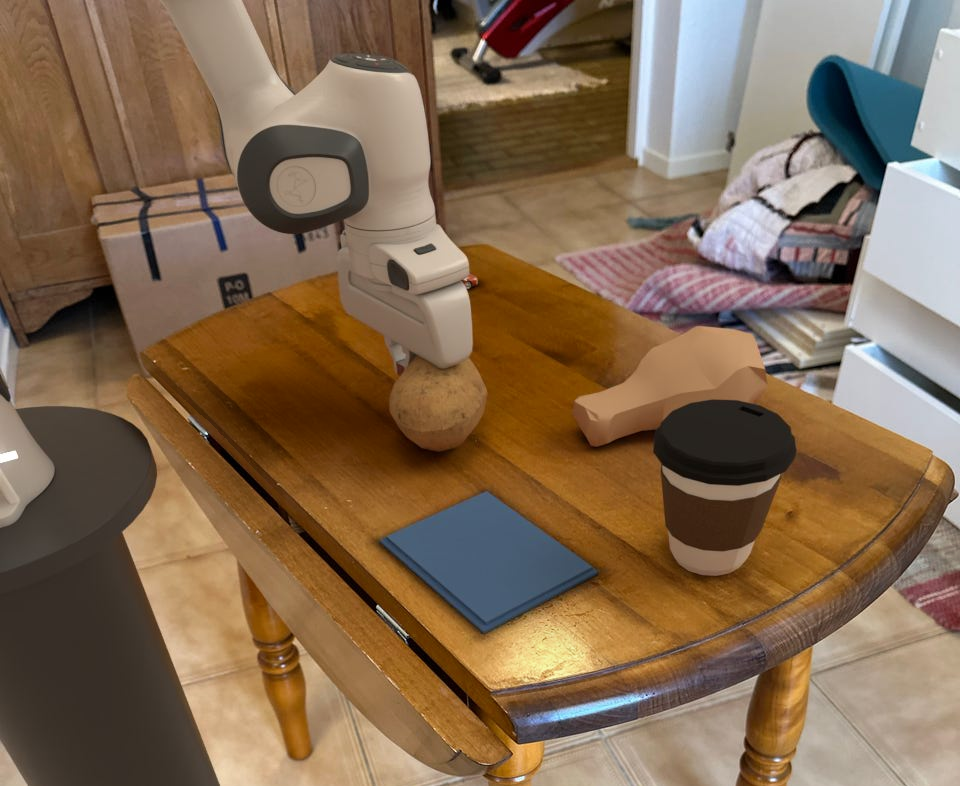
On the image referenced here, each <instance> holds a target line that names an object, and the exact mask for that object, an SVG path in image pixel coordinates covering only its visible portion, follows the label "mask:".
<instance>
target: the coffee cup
mask: <svg viewBox="0 0 960 786" xmlns="http://www.w3.org/2000/svg"><path fill="white" fill-rule="evenodd" d="M652 447H653V449H652V452H653V454H654V455H655V457H656V458H657V459H658V461H659V463H660V479H661V490H662V502H663V512H664V514H663V515H664V524H665V528H666V529H667V531H668V532H667V534H668V542H669V544H668V545H669V550H670V552H671V554H672V556H673V558H674V560H675V561H676V563H677V564H678V565H679V566H681V567H682V568H683V569H685V570H687V571H688V572H691V573H695V574H698V575H700V576H711V577H718V576H723V575H727V574H728V575H729V574H731V573H733V572H734V571H736V570H738V569H740V568H741V566H742V565H743V564H744V563H745V562H746V560H747V559H748V558H749V556H750V555H751V553H752V550H753V547H754V544H755V542H756V540H757V538H758V537H759V535H760V533H761V532H762V530H763V527H764V525H765V522H766V519H767V517H768V514H769V512H770V509H771V506H772V503H773V501H774V499H775V495H776V493H777V490H778V487H779V485H780V483H781V480H782V474H783V473H785V472H787V470H788V469H789V467H790V466H791V465H792V463H793V462H794V461H795V459H796V456H797V443H796V437H795V435H793V433H792V427H791V426H790V425H789V423H787V422H786V421H785V419H784V418H783V417H782V416H780V414H778V413H777V412H774V411H773V410H770V409H769V408H766V407H764V406H762V405H760V404H757V403H755V404H752V403H747V402H743V401H738V400H716V399H712V400H706V401H700V402H693V403H689V404H687V405H685V406H682V407H680V408H678V409H676V410H673V411H672V412H671V413H670V414H669V415H668V416H667V417H666V418H665V419H664V420H663V421H662V422H661V425H660V427H659V428H658V429H655V430H654V436H653V446H652Z"/></svg>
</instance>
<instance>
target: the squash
mask: <svg viewBox="0 0 960 786" xmlns="http://www.w3.org/2000/svg"><path fill="white" fill-rule="evenodd" d="M767 387H768V379H767V371H766V367H765V365H764V361H763V358H762V356H761V352H760V349H759V346H758V343H757V340H756V338H755V336H754V334H752V333H749V332H746V331H742V330H738V329H734V328H726V327H725V328H724V327H714V326H702V325H696V326H695V327H693V328H691V329H689V330H687V331H686V332H685V333H682V334H681V335H679V336H676V338H673V339H671V340H668V341H665V342H663V343H661V344H658V345H656V346H654V347H652V348H651V349H650V350H649V351H648V352H647V353H646V354H645V356H644V357H643V358H642V359H641V360H640V362H639V364H638V365H637V368H636V370H635V371H634V372H633V373H632V374H631V375H630V376H629V377H628V378H627V379H626V380H625V381H624V382H622V383H619V384H616V385H613V386H611V387H610V388H607V389H604V390H601V391H599V392H594V393H589V394H584V395H579V396H578V397H577V398H576V399H575V400H574V401H573V409H572V416H573V419H574V420H575V421H576V423H577V425H578V427H579V429H580V431H582V433H583V434H584V436H585V438H586V439H587V441H588V444H589V445H590V447H594V448H595V447H596V448H597V447H600V446H604V445H607V444H610V443H611V442H613V441H616V440H617V439H620V438H623V437H626V436H629V435H632V434H635V433H638V432H641V431H653V430H654V431H656V430H657V429H658V428H659V427H660V425H661V422H662V421H663V420H664V419H665V418H666V417H667V416H668V415H669V414H670V413H671V412H672V411H673V410H676V409H678V408H680V407H682V406H685V405H687V404H689V403H693V402H700V401H706V400H712V399H716V400H738V401H743V402H747V403H752V404H757V402H758V401H759V399H760V398H761V396H762V395H763V393H764V392H765V391H766V389H767Z"/></svg>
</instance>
